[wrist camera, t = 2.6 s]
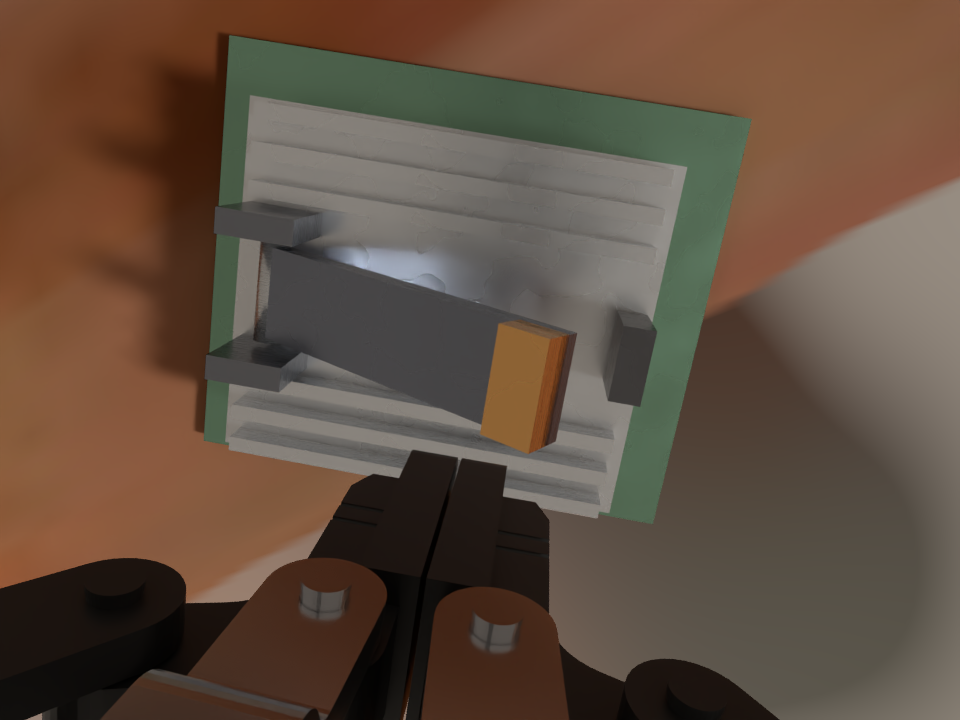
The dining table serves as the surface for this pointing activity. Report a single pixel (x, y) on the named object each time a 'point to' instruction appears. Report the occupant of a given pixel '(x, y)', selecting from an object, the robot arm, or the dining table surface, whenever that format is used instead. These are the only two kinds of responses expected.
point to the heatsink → (469, 257)
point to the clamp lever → (419, 342)
